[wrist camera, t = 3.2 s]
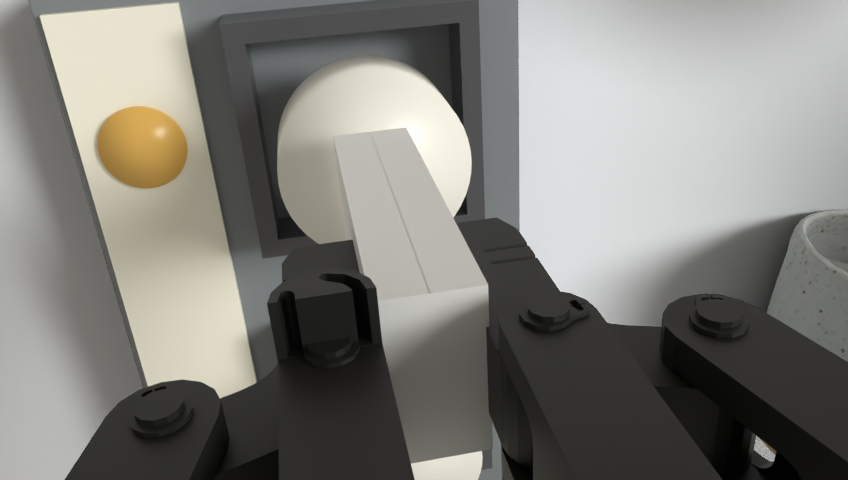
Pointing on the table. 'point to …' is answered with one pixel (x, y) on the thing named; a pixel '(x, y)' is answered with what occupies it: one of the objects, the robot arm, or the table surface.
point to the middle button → (450, 468)
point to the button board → (245, 149)
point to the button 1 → (356, 113)
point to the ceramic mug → (816, 282)
